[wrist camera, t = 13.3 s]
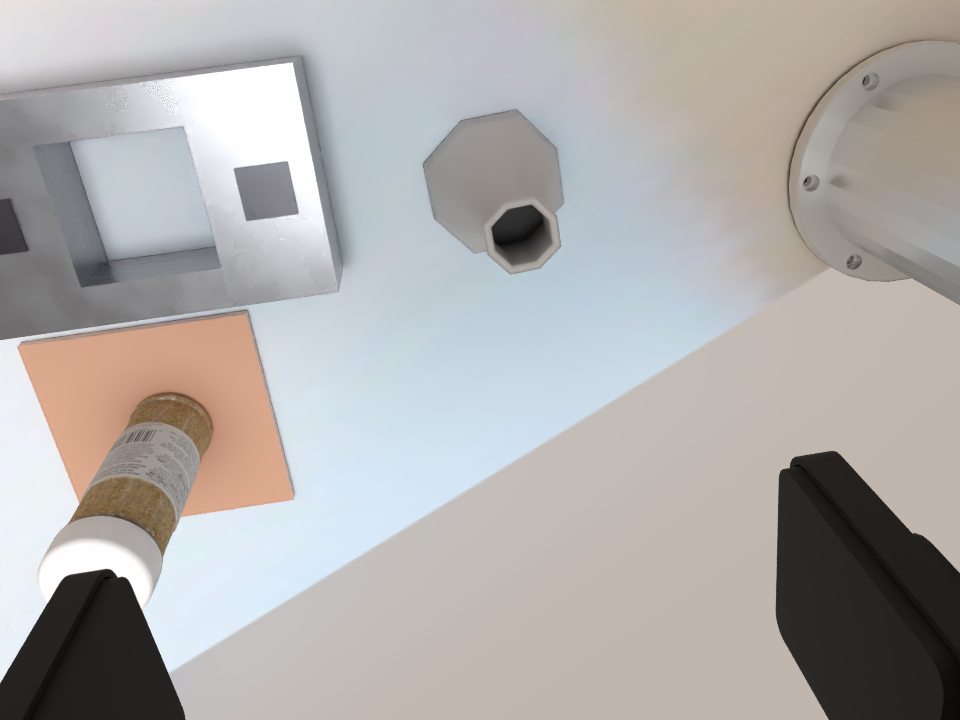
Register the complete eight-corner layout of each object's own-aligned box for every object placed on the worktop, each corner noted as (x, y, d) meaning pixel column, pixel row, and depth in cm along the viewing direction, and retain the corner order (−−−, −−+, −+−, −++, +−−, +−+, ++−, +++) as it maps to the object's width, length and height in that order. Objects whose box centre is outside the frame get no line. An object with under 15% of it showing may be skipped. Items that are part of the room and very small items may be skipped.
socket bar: (301, 55, 38) (291, 63, 34) (343, 266, 43) (338, 293, 39) (-62, 102, 38) (-113, 115, 34) (20, 311, 42) (-17, 343, 38)
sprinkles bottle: (139, 463, 46) (49, 635, 34) (123, 392, 44) (19, 547, 32) (221, 457, 46) (160, 625, 34) (208, 387, 44) (138, 538, 32)
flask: (523, 83, 40) (562, 111, 31) (585, 207, 43) (637, 266, 34) (398, 156, 41) (400, 204, 32) (467, 273, 44) (487, 347, 35)
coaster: (247, 310, 43) (245, 314, 43) (294, 494, 48) (293, 499, 48) (21, 342, 43) (17, 347, 42) (93, 524, 48) (90, 530, 47)
